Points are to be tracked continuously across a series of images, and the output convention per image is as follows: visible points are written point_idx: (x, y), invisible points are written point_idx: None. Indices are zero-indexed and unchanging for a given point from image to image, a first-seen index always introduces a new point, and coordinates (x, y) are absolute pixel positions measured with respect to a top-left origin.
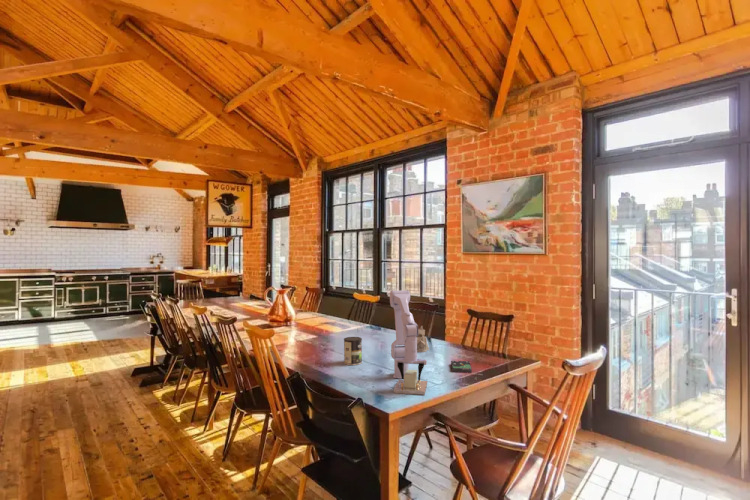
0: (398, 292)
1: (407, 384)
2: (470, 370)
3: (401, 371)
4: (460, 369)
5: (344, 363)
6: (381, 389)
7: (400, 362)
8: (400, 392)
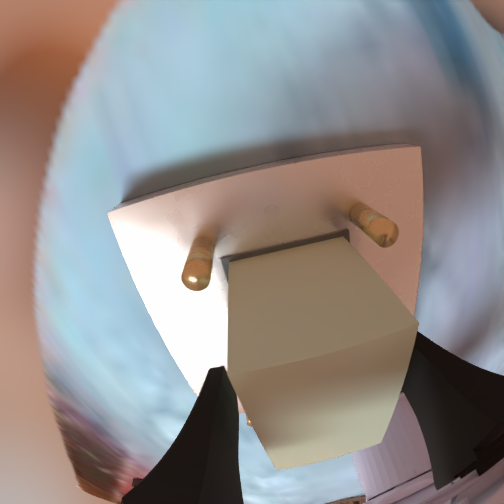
0: None
1: (324, 259)
2: (134, 484)
3: (455, 370)
4: None
5: None
6: (478, 197)
7: (499, 460)
8: (353, 149)
